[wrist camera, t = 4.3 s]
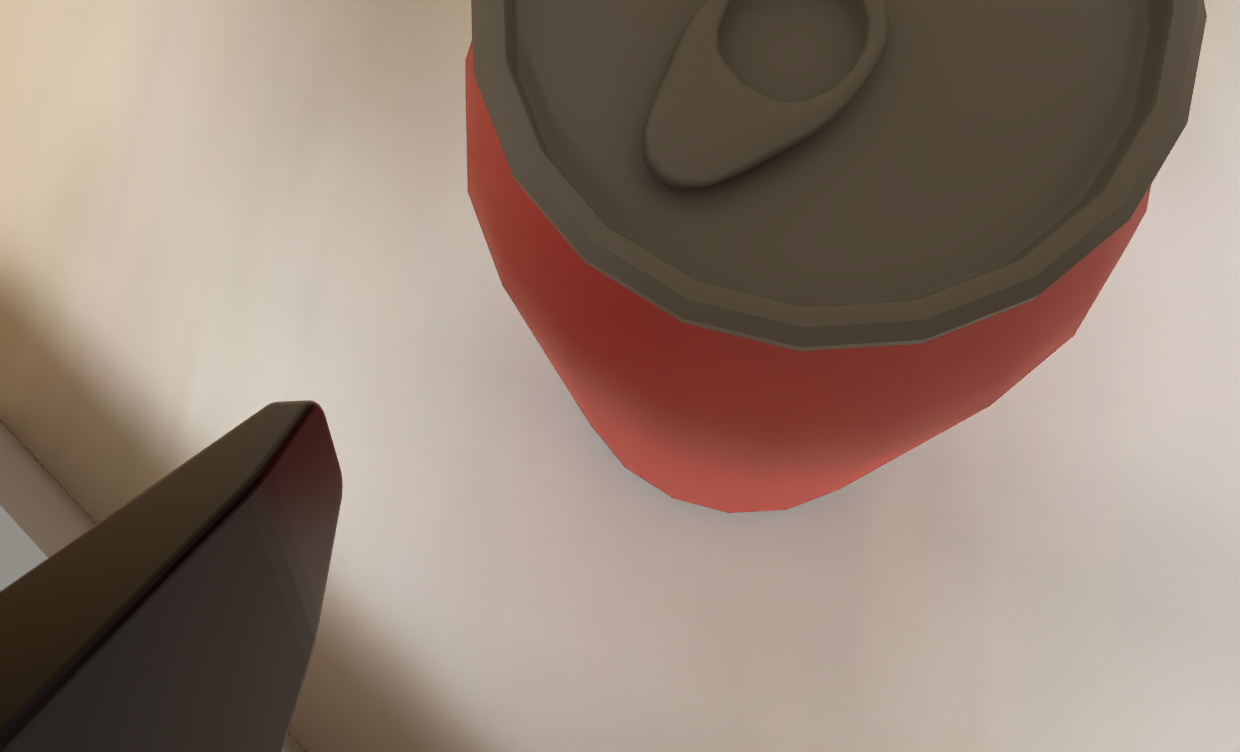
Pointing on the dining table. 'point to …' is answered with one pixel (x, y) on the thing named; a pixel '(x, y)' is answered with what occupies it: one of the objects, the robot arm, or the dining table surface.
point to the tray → (39, 518)
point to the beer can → (810, 212)
